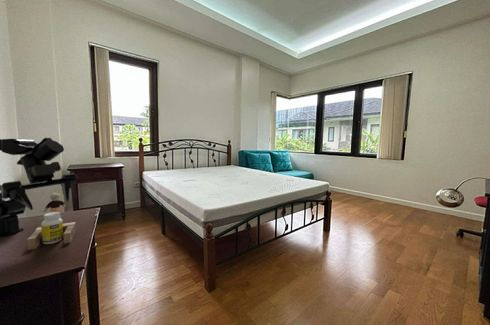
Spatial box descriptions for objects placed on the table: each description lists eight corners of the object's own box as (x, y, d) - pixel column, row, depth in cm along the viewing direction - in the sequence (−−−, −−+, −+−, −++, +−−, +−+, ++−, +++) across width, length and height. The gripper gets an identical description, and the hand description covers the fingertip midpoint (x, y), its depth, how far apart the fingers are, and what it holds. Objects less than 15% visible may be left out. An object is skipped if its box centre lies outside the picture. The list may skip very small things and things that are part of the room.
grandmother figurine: (50, 224, 84) (49, 195, 83) (42, 224, 84) (41, 194, 83) (69, 218, 92) (67, 191, 90) (61, 217, 92) (60, 190, 91)
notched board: (38, 236, 73) (38, 227, 73) (76, 231, 79) (75, 222, 79) (27, 249, 64) (27, 238, 64) (70, 242, 70) (70, 232, 70)
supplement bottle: (50, 245, 68) (48, 217, 67) (37, 243, 69) (36, 215, 68) (67, 238, 73) (66, 212, 72) (55, 236, 74) (54, 210, 73)
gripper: (-4, 157, 61) (11, 201, 57) (73, 152, 77) (88, 186, 73) (-5, 177, 66) (9, 218, 63) (67, 169, 82) (81, 201, 79)
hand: (50, 204), depth 69 cm, fingers open, 9 cm apart
